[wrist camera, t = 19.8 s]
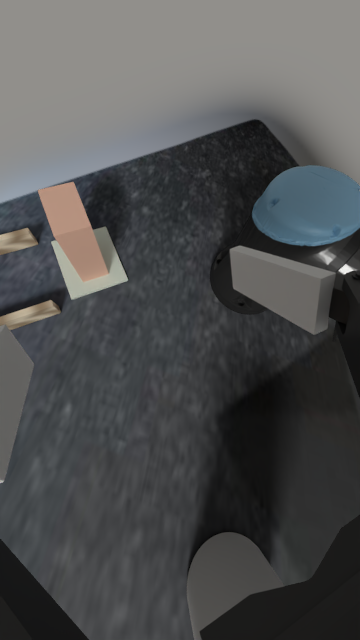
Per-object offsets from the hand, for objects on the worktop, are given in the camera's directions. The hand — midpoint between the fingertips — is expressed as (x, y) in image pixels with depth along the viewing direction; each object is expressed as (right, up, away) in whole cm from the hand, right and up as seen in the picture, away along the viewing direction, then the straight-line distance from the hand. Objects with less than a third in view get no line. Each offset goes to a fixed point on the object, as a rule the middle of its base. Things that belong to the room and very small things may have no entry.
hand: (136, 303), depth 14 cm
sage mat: (-15, +11, +32) cm, 37 cm away
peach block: (-15, +11, +32) cm, 37 cm away
